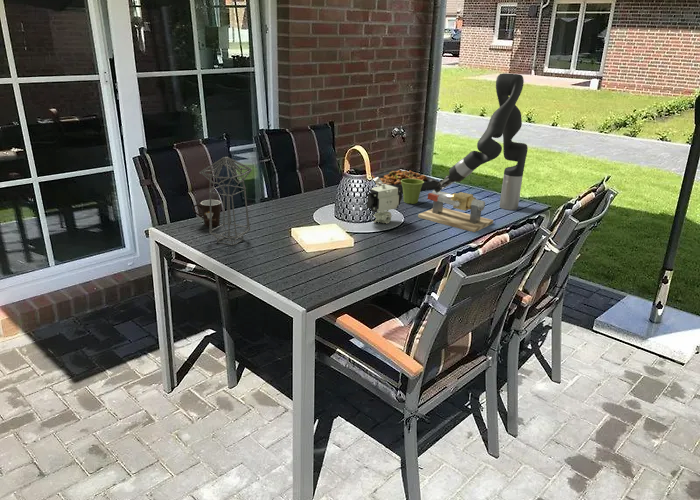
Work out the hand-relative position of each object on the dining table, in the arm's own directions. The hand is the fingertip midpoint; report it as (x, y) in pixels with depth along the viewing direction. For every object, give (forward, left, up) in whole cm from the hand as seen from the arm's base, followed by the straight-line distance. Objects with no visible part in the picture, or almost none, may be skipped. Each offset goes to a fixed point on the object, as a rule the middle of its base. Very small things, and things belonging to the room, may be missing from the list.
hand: (435, 190), depth 255 cm
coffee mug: (+78, -67, -14) cm, 104 cm away
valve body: (-5, +9, -12) cm, 16 cm away
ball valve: (+21, -15, -14) cm, 29 cm away
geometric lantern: (+86, -43, -14) cm, 98 cm away
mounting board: (-6, +9, -14) cm, 17 cm away
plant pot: (-16, -23, -14) cm, 32 cm away
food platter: (-36, -48, -15) cm, 62 cm away
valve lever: (0, +13, -4) cm, 14 cm away
